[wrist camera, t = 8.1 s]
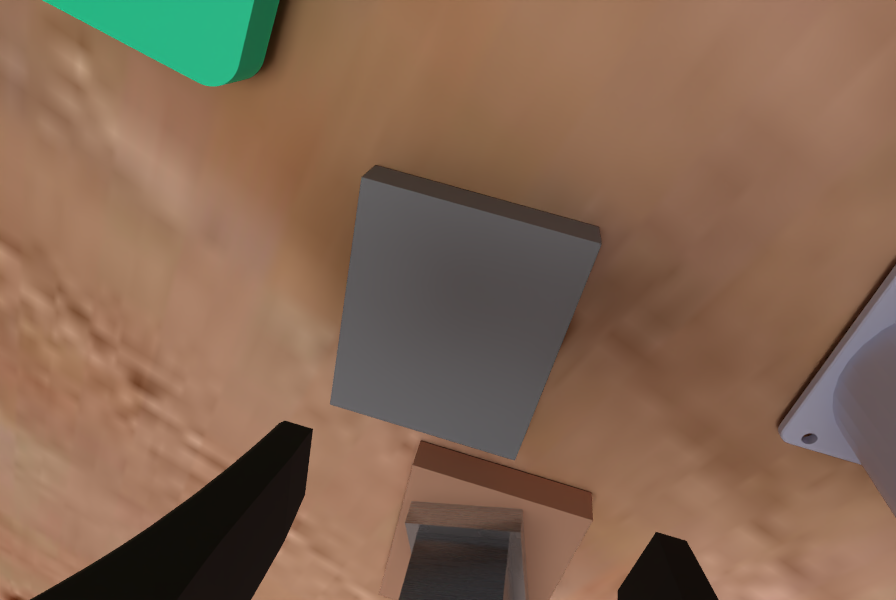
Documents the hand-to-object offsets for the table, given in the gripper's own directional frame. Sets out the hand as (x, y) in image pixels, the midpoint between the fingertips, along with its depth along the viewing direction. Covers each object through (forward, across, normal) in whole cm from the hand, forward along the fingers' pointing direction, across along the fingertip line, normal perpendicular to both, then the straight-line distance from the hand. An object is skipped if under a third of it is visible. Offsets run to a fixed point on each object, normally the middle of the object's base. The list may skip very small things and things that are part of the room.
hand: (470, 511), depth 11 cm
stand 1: (+10, +2, +2) cm, 11 cm away
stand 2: (+10, -2, +14) cm, 18 cm away
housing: (+9, -2, +14) cm, 16 cm away
